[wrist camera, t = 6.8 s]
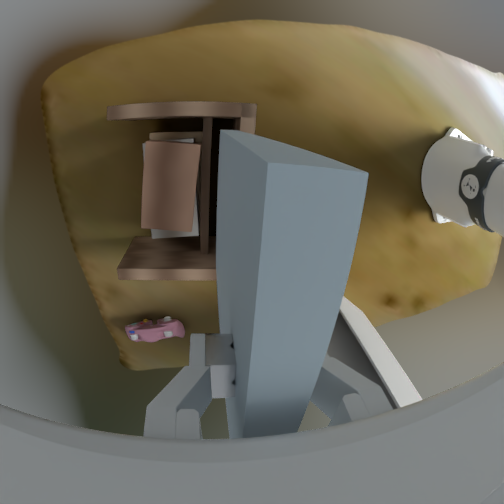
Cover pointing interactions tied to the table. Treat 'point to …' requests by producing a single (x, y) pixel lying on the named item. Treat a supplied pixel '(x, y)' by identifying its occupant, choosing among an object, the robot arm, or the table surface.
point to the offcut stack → (172, 184)
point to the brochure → (369, 355)
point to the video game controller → (155, 330)
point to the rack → (201, 247)
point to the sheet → (280, 272)
